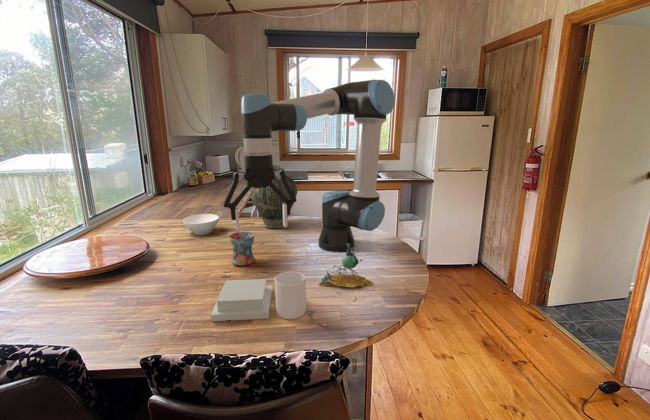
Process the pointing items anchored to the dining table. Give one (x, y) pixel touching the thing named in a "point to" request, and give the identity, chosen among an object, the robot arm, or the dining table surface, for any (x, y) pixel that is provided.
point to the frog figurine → (347, 279)
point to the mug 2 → (290, 294)
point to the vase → (272, 200)
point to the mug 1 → (242, 248)
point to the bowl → (201, 223)
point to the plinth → (244, 313)
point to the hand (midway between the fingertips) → (262, 228)
